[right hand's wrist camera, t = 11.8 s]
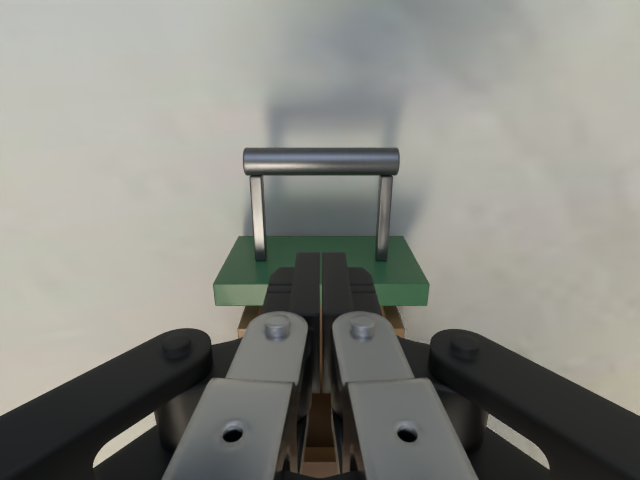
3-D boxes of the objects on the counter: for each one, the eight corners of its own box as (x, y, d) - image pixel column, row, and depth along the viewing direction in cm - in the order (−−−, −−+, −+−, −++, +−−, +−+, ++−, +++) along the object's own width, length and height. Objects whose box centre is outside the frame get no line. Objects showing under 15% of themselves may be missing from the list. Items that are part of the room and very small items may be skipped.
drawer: (230, 138, 22) (198, 158, 16) (411, 138, 22) (444, 158, 16) (257, 462, 31) (242, 549, 26) (384, 462, 31) (399, 549, 26)
